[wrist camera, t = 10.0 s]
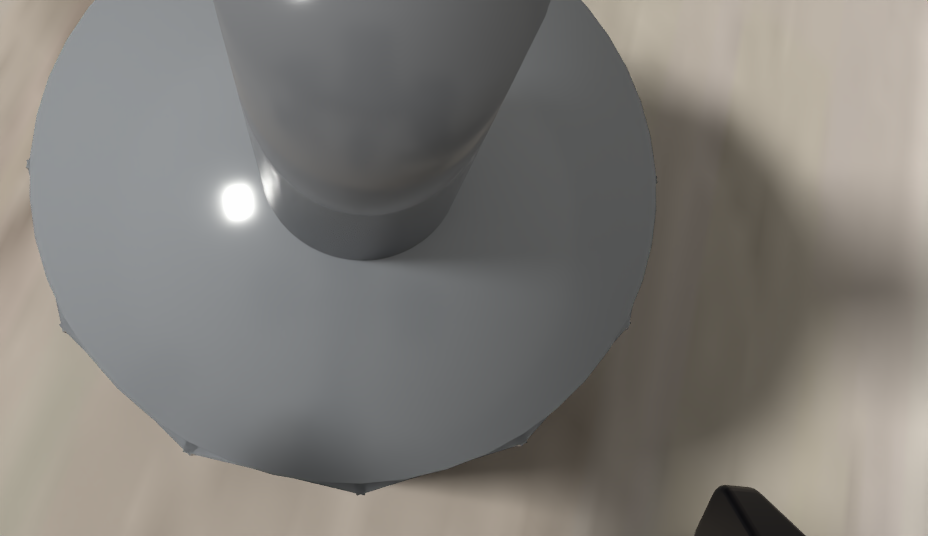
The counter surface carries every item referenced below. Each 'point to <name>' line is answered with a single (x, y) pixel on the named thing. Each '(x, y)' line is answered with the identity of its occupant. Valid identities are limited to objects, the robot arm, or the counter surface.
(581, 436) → the counter surface
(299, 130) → the slate cloche
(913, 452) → the counter surface
